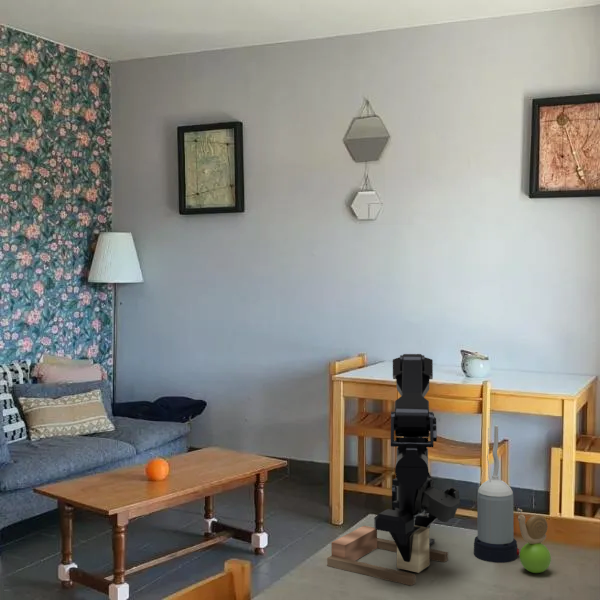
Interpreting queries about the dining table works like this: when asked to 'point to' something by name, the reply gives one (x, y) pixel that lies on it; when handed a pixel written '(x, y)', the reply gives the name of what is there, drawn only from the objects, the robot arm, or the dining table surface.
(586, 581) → the dining table surface
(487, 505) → the humidifier
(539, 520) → the snail figurine
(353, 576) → the dining table surface
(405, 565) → the block
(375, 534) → the guide track
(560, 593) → the dining table surface
